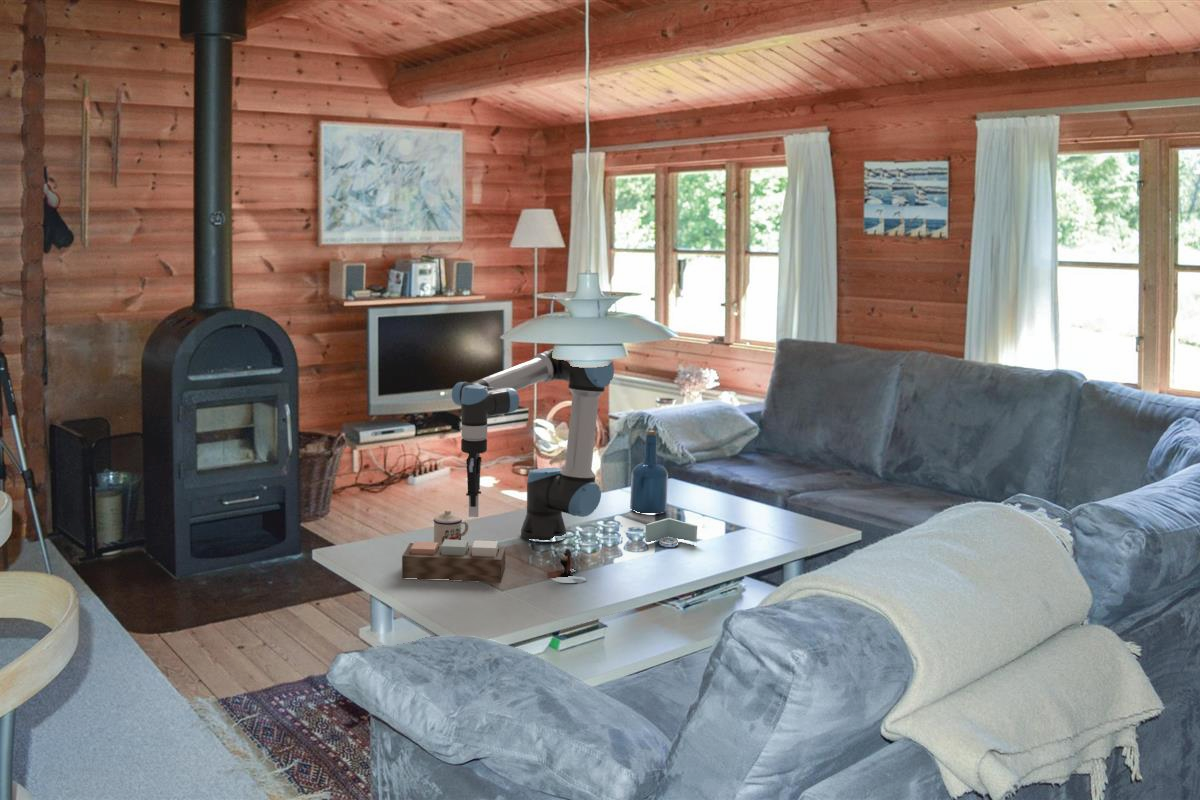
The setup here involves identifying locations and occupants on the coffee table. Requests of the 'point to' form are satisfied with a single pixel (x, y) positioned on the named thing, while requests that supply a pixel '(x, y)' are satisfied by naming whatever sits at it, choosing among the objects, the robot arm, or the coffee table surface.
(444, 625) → the coffee table surface
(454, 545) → the slate key
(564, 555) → the figurine
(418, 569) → the frame
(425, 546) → the pink square block
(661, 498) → the wine bottle
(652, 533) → the right angle wall
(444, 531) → the teacup with lid
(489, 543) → the cream key
